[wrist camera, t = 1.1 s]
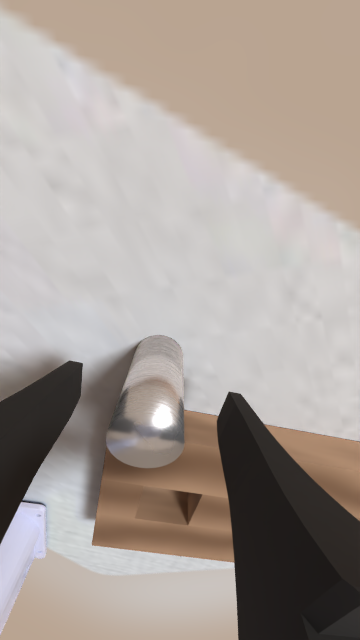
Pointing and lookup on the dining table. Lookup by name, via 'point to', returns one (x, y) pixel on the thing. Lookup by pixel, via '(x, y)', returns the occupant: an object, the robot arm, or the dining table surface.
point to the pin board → (206, 492)
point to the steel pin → (150, 407)
